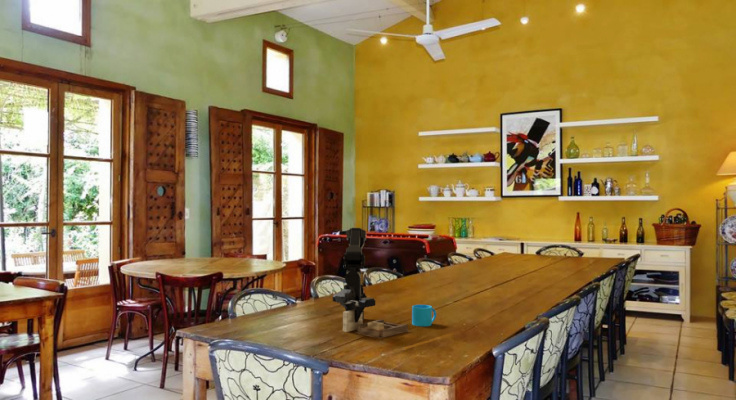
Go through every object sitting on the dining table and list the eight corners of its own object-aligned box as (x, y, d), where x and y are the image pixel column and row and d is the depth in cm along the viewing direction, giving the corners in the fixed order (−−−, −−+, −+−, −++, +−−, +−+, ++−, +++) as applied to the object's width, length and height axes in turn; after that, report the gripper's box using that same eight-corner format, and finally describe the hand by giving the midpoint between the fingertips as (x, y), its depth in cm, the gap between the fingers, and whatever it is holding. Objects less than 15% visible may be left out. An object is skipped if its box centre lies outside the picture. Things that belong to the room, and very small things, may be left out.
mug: (421, 329, 217) (421, 309, 217) (408, 325, 223) (408, 305, 223) (442, 325, 224) (442, 305, 224) (429, 322, 231) (429, 302, 231)
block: (358, 328, 216) (359, 308, 216) (362, 329, 215) (362, 309, 215) (342, 332, 210) (343, 311, 210) (346, 333, 208) (346, 312, 208)
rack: (353, 334, 207) (353, 325, 207) (384, 326, 220) (384, 318, 221) (380, 340, 198) (380, 331, 198) (410, 332, 211) (410, 323, 211)
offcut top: (367, 328, 206) (367, 323, 206) (373, 326, 209) (373, 321, 209) (378, 330, 203) (378, 324, 203) (383, 328, 206) (383, 323, 206)
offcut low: (364, 332, 207) (364, 327, 207) (371, 331, 210) (371, 325, 210) (378, 335, 202) (378, 330, 202) (385, 334, 205) (385, 328, 205)
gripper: (322, 281, 213) (322, 321, 213) (356, 287, 200) (356, 329, 200) (342, 279, 221) (342, 317, 221) (376, 284, 208) (376, 324, 208)
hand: (353, 321), depth 212 cm, fingers open, 3 cm apart
